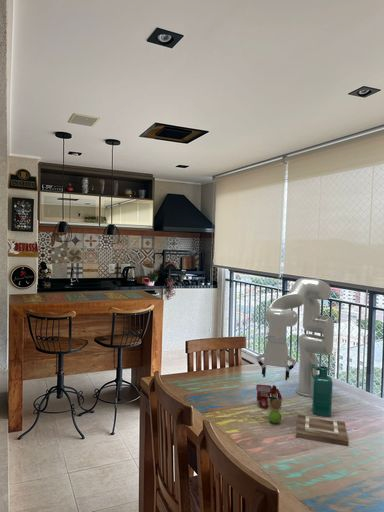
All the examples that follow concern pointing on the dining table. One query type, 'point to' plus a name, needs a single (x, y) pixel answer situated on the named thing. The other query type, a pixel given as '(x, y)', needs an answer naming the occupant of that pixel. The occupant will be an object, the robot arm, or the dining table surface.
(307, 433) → the board
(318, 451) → the dining table surface
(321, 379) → the teal bottle
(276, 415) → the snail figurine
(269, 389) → the toy fire truck
